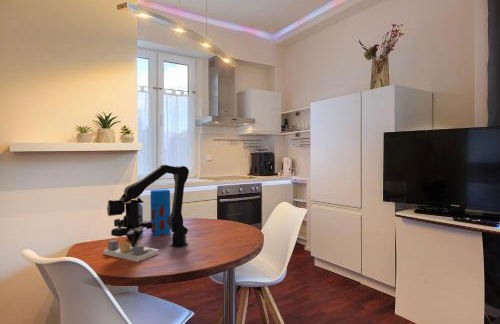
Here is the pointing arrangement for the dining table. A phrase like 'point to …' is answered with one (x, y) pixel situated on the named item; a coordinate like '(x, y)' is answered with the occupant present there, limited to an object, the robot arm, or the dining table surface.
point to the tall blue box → (160, 212)
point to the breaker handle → (125, 246)
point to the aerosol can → (141, 217)
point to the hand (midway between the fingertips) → (133, 247)
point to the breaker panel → (130, 251)
